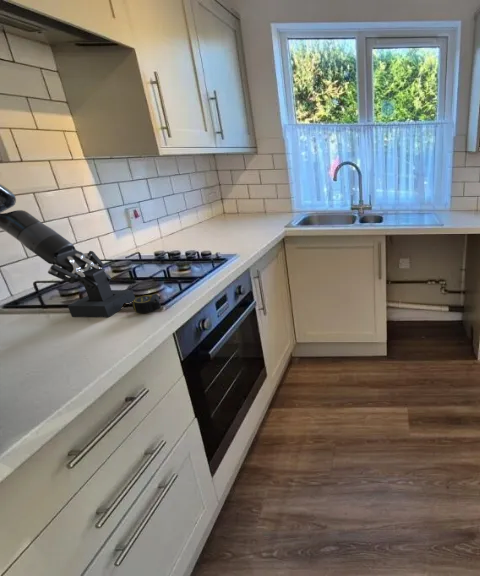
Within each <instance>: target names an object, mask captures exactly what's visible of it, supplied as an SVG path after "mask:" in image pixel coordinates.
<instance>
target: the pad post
mask: <svg viewBox="0 0 480 576" xmlns="http://www.w3.org/2000/svg"><path fill="white" fill-rule="evenodd" d="M82 272H83V273H84V275H85V277H86V276H88V277H89V278H90V279H92V280H93V281H95V282H96V283H97V284H98V287H97V289H95V290H92V289H89V288H88V287H86V286H85V285H83V287H84V290H85V292H86V296H88V297H89V300H90V301H99V302H103V301H105V300H107V299H108V298H110V297H112V296H113V293H112V290H113V289H112V288H111V285H110V282H108V279H107V277H106V274H107V273H106V269H105V268H102V269H94V268H91V269H89V270H87V271H82ZM105 273H106V274H105Z"/></svg>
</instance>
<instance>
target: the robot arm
mask: <svg viewBox="0 0 480 576" xmlns="http://www.w3.org/2000/svg"><path fill="white" fill-rule="evenodd" d="M16 203H17V197H16V195H15V194H14V193H13V191H11V190H10V189H9V188H7V187H6V186H5V185H3V184H1V183H0V230H2V231H4V232H6V233H7V234H9V235H10V236H11V237H12V238H14V239H16V240H17V241H19V242H20V243H21V244H22V245H23V246H24V247H25V248H26V249H28V250H29V251H30V252H32V253H33V254H35V255H36V256H38V257H39V258H40V259H42V260H43V261H45V263H47V264H49V265H51V266H50V267H49V269H48V271H47V274H49V275H51V276H53V277H55V278H57V279H60V280H62V281H64V282H66V283H69V284H74V283H80V284H82V285H83V286H84V285H85V286H86V287H88V288H89V289H92V290H95V289H97V287H98V284H97V283H96V282H95V281H93V280H92V279H90V278H89V277H88V276H86V277H85V275H84V273H83V272H85V271H87V270H89V269H103V268H104V266H105V264H104V263H103V261H102V260H101V259H100V258H99V256H98V255H96V253H95V252H94V251H93V250H89V251H88V252H85V253H84V252H82V251H79V250H77V249H76V247H75V245H74V244H73V243H72V242H70V241H69V240H68V239H66V238H65V237H63V236H62V234H60V233H58V232H57V231H56V230H54V229H53V228H52V227H49V226H48V225H46V224H44V223H43V222H42V221H40V220H39V219H38V218H36V216H33V215H32V214H31V213H29V212H28V211H26V210H23V209H16V210H13V211H9V212H6V211H7V210H9V209H12V207H14V206H15V205H16ZM4 212H5V213H4ZM105 274H106V277H107V279H108V282H109V283H110V282H111V281H112V277H111V275H109V274H108V273H107V272H105Z"/></svg>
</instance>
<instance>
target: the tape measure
mask: <svg viewBox="0 0 480 576" xmlns="http://www.w3.org/2000/svg"><path fill="white" fill-rule="evenodd" d="M131 305H132V309H133V311H134V312H135V313H137V314H148V313H151V312H154V311H158V310H160V309H161V295H159V294H157V293H153V294H147V295H142V296H141V295H140V296H138V297H135V299H134V300H133V303H131Z"/></svg>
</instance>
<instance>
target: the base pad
mask: <svg viewBox="0 0 480 576" xmlns="http://www.w3.org/2000/svg"><path fill="white" fill-rule="evenodd" d="M111 290H112V293H113V296H112V297H110V298H108V299H107V300H105V301H103V302H99V301H90V300H89V297H88V295H86V296H84V297H82V298H80V299H78V300H76V301H74V302H71V303H70V304H68V305H67V309H68V311H69V314H70V315H71V317H72V318H110V317H112V316H113V315H115V314H116V313H118V312H120V311H122V309H121V308H122V306H123V304H124V303H130V302H132V301H133V300H134V299H136V296H135V293H134V290H133V289H111Z"/></svg>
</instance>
